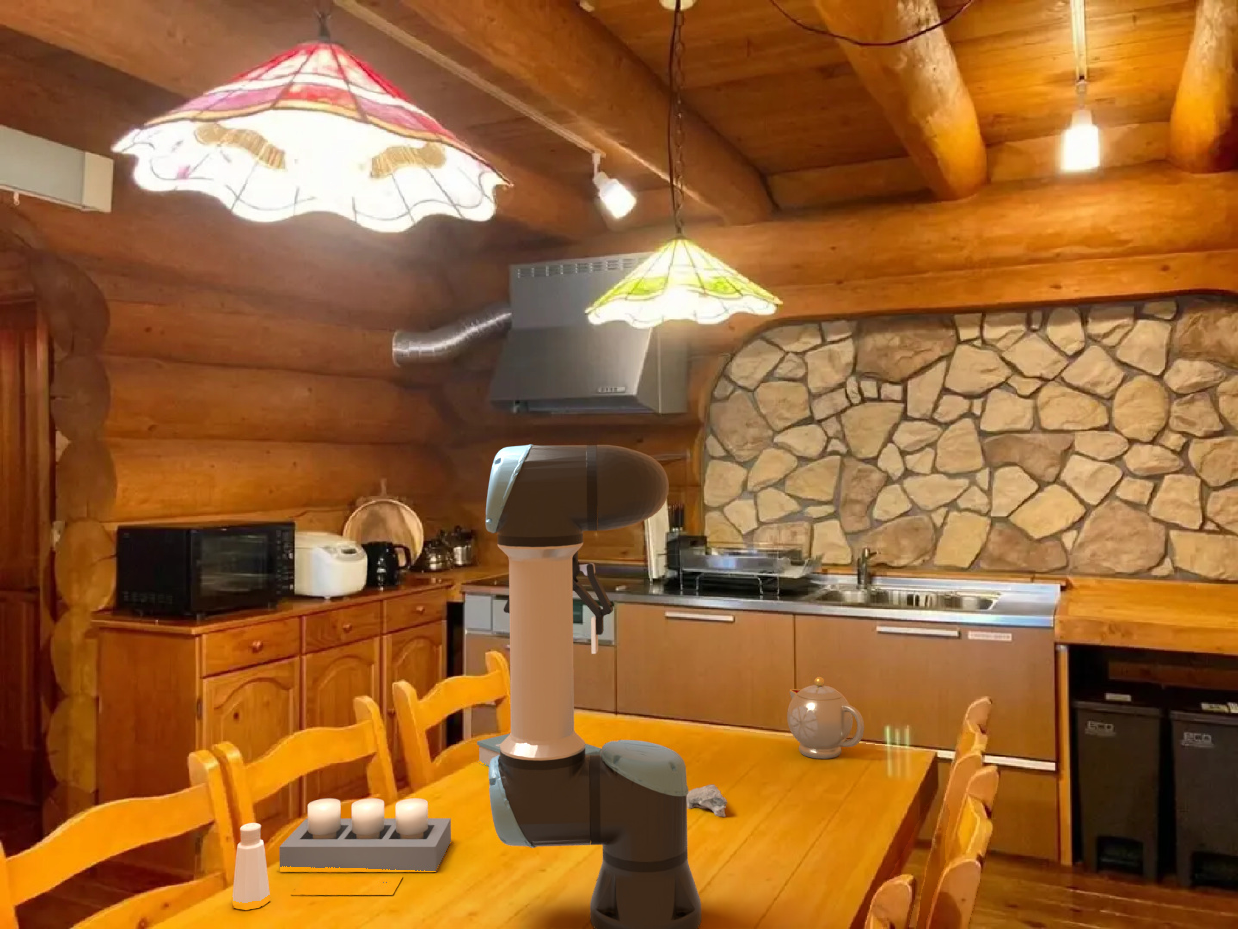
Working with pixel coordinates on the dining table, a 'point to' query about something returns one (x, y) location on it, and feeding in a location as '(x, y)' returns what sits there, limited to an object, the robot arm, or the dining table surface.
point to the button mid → (368, 818)
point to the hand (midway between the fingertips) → (558, 652)
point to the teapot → (822, 720)
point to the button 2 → (412, 818)
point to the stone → (707, 799)
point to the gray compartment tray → (368, 848)
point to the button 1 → (324, 818)
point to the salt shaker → (250, 866)
